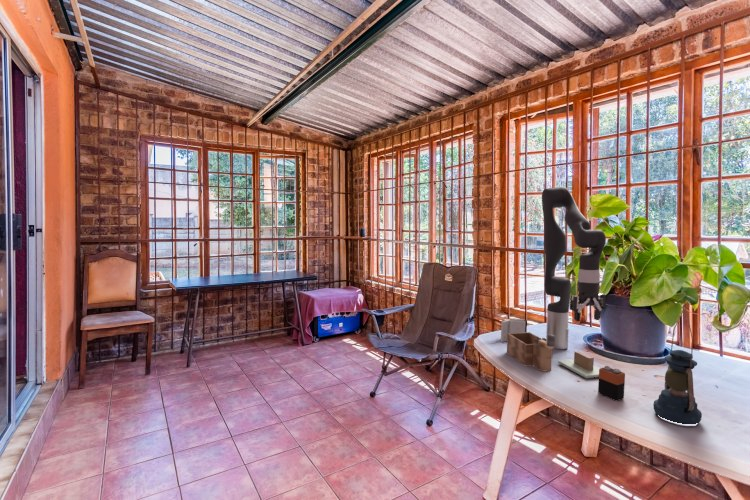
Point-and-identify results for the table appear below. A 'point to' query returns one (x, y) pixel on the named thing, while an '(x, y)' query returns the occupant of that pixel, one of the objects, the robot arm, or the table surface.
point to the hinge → (512, 327)
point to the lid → (581, 365)
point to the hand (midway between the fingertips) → (587, 320)
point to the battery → (611, 383)
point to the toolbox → (529, 350)
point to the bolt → (548, 341)
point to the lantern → (678, 388)
